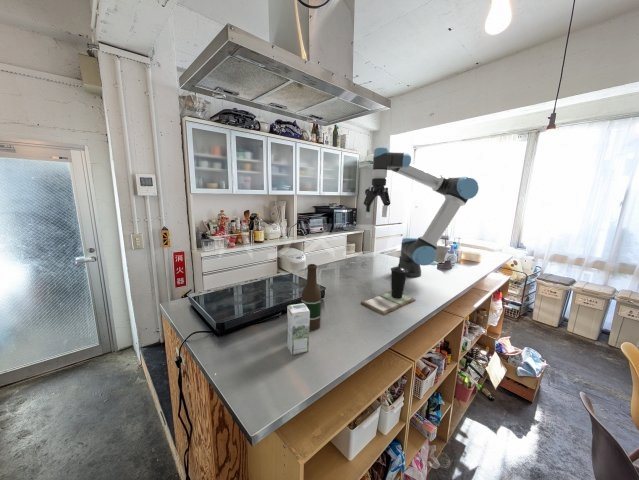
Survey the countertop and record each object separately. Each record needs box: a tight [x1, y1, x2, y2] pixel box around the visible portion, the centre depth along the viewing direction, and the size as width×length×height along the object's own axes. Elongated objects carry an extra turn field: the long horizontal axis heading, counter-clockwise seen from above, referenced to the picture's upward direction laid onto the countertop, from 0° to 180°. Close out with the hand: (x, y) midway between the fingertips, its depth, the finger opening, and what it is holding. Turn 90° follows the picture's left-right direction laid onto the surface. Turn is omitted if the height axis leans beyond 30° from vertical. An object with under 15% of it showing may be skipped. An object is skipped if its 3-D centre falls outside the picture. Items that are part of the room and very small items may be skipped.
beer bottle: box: [300, 263, 322, 331], centre depth 93 cm, size 8×8×24 cm
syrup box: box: [286, 303, 310, 356], centre depth 80 cm, size 6×6×14 cm
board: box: [360, 290, 416, 316], centre depth 118 cm, size 24×13×1 cm, turn 129°
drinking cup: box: [390, 255, 408, 299], centre depth 120 cm, size 8×8×20 cm
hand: (376, 217), depth 140 cm, fingers open, 13 cm apart
